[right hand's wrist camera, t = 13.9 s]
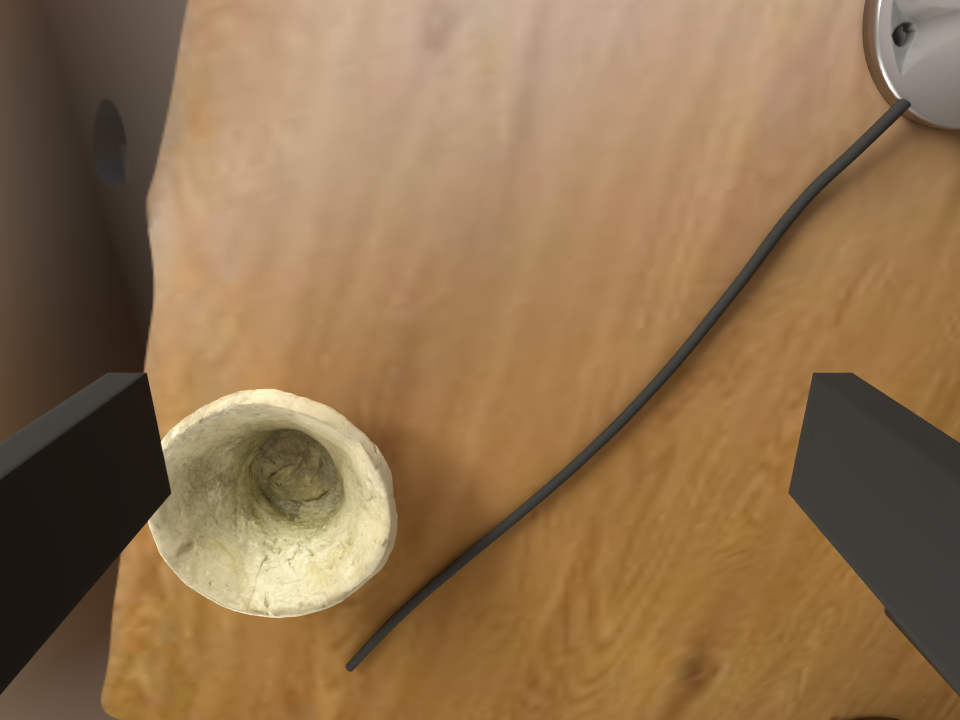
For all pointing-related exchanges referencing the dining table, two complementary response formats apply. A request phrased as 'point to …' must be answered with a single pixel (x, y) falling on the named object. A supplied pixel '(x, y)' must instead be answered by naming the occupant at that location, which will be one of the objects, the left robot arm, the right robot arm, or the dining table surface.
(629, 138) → the dining table surface
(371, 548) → the bowl
